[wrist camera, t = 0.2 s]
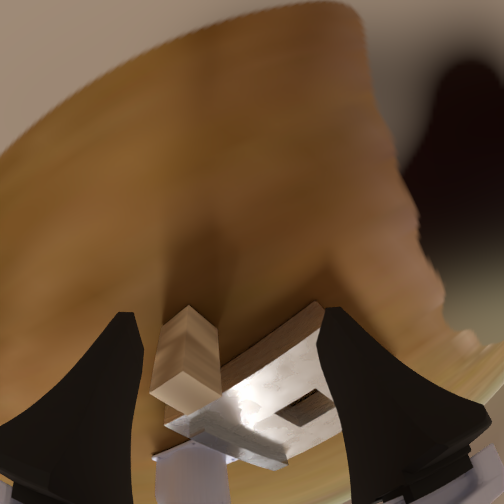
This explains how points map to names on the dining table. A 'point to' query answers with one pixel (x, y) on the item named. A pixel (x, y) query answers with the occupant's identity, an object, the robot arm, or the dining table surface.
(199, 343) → the peg
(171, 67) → the dining table surface
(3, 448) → the robot arm
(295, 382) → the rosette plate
